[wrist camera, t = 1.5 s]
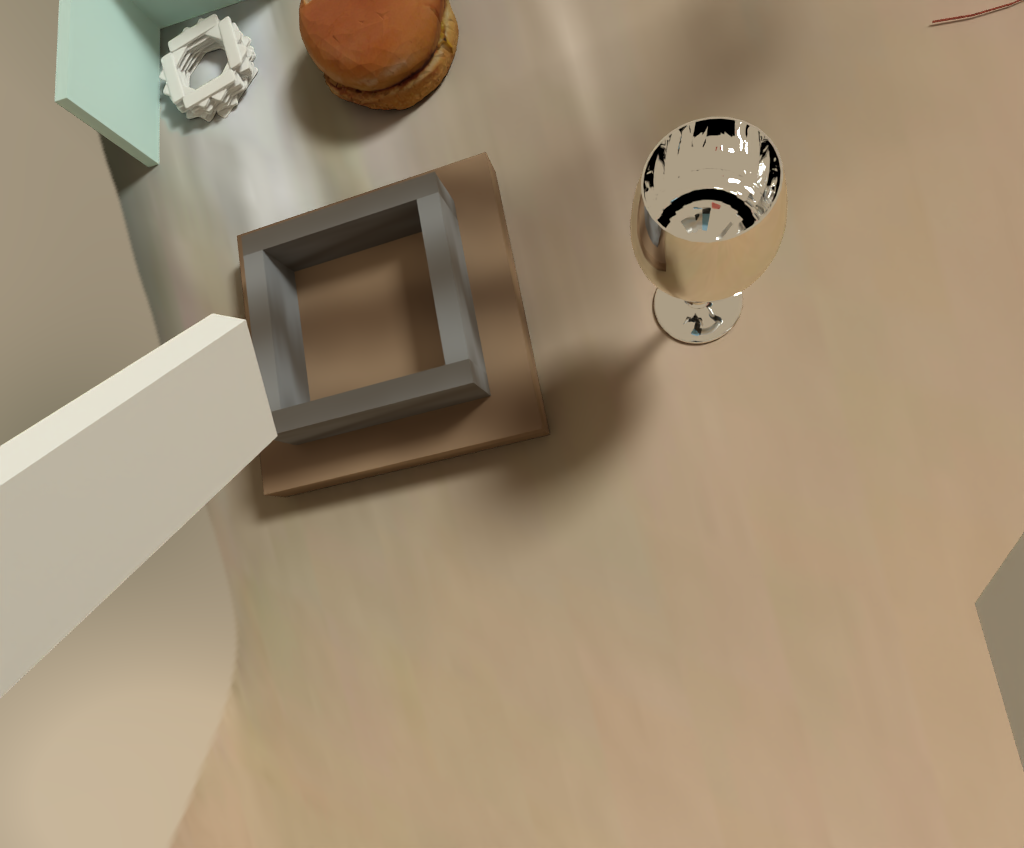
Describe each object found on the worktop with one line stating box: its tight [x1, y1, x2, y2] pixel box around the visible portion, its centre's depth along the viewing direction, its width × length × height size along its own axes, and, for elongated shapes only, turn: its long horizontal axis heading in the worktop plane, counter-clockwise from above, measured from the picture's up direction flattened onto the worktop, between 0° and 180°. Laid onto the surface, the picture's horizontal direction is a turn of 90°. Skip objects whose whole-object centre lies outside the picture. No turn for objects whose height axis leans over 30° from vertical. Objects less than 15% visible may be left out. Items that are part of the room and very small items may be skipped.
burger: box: [299, 0, 458, 110], centre depth 38 cm, size 10×9×5 cm
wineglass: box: [630, 117, 788, 344], centre depth 27 cm, size 6×6×12 cm
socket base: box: [237, 152, 550, 497], centre depth 35 cm, size 16×16×5 cm
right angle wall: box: [55, 0, 258, 167], centre depth 41 cm, size 12×12×8 cm
